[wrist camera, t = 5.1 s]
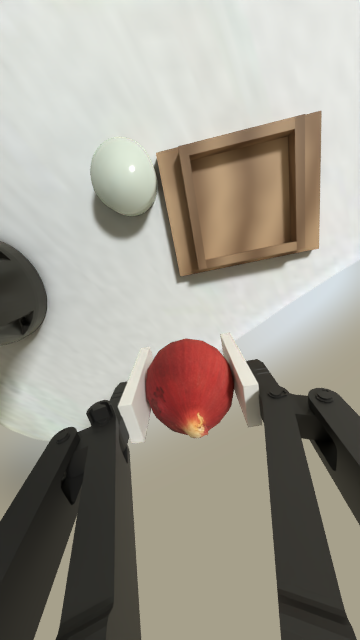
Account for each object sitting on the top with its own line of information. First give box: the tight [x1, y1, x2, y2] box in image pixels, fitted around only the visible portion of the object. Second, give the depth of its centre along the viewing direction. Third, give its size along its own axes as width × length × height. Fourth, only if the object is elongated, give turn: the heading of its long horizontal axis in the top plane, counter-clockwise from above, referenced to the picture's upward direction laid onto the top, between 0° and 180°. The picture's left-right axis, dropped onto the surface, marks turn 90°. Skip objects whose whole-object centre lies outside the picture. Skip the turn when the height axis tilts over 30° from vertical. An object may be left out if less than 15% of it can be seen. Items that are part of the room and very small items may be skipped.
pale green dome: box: [90, 137, 158, 216], centre depth 24 cm, size 7×7×3 cm
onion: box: [146, 339, 234, 438], centre depth 14 cm, size 6×6×8 cm
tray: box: [156, 111, 321, 276], centre depth 25 cm, size 18×14×3 cm
